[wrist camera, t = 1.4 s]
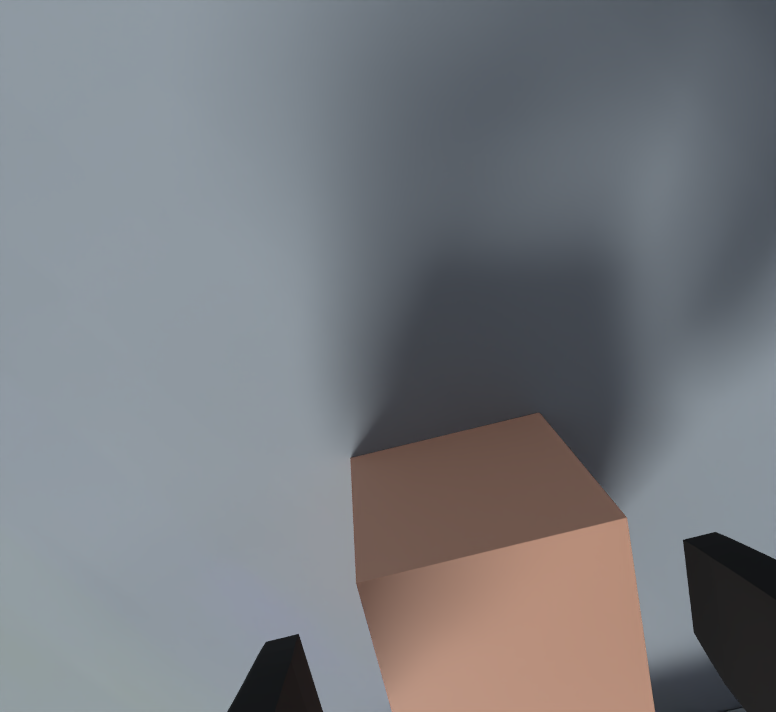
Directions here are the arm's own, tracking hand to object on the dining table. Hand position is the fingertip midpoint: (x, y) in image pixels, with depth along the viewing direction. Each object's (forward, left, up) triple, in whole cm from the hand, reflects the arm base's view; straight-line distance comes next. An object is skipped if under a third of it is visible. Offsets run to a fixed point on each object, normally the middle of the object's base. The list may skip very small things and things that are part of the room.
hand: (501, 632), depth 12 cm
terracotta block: (0, 0, -4) cm, 4 cm away
